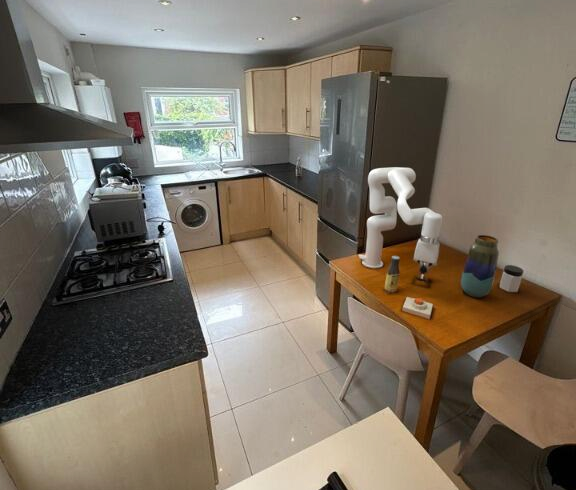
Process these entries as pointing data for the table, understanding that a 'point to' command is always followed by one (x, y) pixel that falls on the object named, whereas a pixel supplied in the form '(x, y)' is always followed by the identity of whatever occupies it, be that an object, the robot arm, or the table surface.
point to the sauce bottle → (392, 275)
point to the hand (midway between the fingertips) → (422, 273)
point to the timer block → (417, 308)
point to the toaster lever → (421, 277)
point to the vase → (480, 266)
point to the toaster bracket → (426, 273)
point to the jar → (511, 278)
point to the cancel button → (418, 301)
